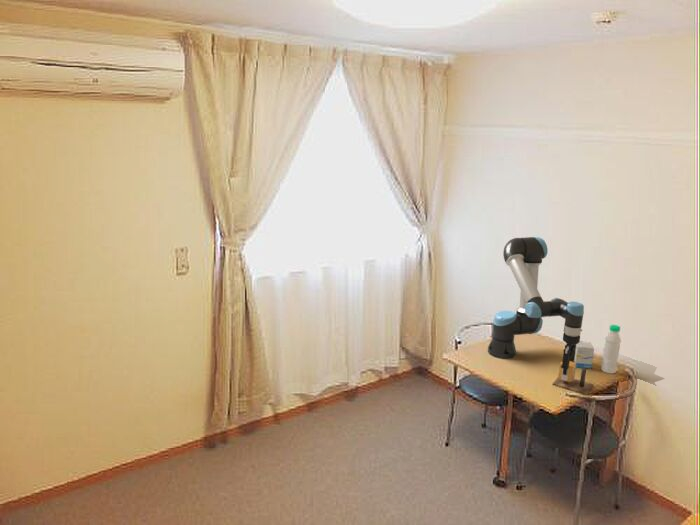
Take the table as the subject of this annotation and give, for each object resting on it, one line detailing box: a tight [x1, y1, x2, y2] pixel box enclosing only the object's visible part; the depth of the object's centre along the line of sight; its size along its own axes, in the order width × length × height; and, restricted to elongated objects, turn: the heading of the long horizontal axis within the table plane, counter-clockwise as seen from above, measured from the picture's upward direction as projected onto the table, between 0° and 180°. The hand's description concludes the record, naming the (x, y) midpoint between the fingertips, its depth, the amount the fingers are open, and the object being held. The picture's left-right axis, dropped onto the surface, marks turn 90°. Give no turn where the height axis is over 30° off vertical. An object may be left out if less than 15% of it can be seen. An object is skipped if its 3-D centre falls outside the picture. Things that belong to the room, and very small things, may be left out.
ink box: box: [574, 340, 595, 370], centre depth 275 cm, size 9×8×12 cm
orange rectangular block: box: [557, 361, 577, 382], centre depth 255 cm, size 6×6×8 cm
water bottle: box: [600, 324, 622, 374], centre depth 267 cm, size 7×7×25 cm
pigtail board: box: [552, 368, 594, 395], centre depth 253 cm, size 16×12×10 cm
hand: (566, 377), depth 256 cm, fingers closed on orange rectangular block, 6 cm apart
